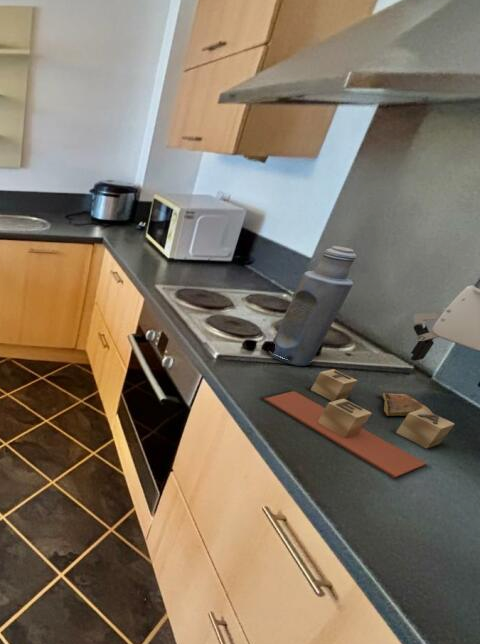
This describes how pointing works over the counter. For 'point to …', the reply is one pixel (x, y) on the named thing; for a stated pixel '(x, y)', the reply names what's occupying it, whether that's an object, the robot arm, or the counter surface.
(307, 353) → the bottle
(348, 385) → the letter T
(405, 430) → the letter A
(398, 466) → the word mat
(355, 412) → the letter E
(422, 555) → the counter surface
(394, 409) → the shard
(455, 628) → the counter surface
